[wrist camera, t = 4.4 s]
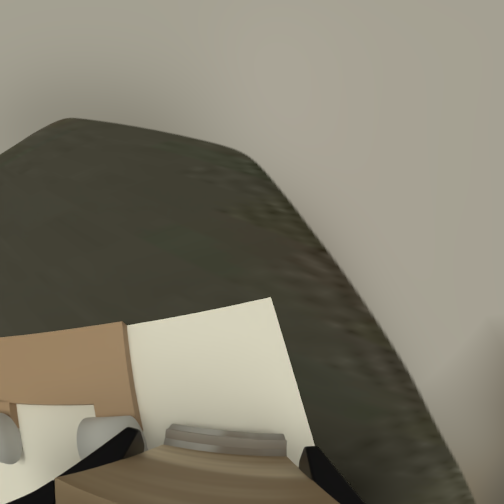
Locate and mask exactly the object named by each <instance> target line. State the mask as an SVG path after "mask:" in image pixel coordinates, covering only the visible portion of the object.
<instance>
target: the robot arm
mask: <svg viewBox="0 0 504 504" xmlns="http://www.w3.org/2000/svg"><path fill="white" fill-rule="evenodd" d="M143 452H144V441H143V438H142V434H141V431H140V430H139V429H137V428H133V427H126V428H125V429H123V430H122V431H121V432H120V433H118V434H117V435H116V436H114V437H113V438H111V439H110V440H109V441H107V442H106V443H105V444H103V445H102V446H101V447H99V448H98V449H96V450H95V451H94V452H92V453H91V454H90V455H88V456H87V457H85V458H84V459H82V460H81V461H80V462H78V463H77V464H75V465H74V466H72V467H71V468H69V469H68V470H67V471H65V472H64V473H62V474H61V475H59V476H58V477H60V476H65V475H69V474H73V473H77V472H81V471H85V470H89V469H92V468H96V467H99V466H103V465H106V464H109V463H113V462H116V461H119V460H122V459H126V458H129V457H132V456H135V455H138V454H140V453H143ZM299 469H300V470H301V471H302V472H303V473H304V474H305V475H306V476H307V477H309V478H310V479H311V480H312V481H314V482H315V483H316V484H317V485H318V486H319V487H321V488H322V489H323V490H324V491H325V492H326V493H328V494H329V495H330V496H331V497H332V498H334V499H335V500H336V501H337V502H338V503H340V504H365V502H364V501H363V500H362V499H361V498H360V497H359V496H358V494H357V493H356V492H355V491H354V490H353V489H352V487H351V486H350V485H349V484H348V483H347V482H346V480H345V479H344V478H343V477H342V476H341V474H340V473H339V472H338V471H337V469H336V468H335V467H334V466H333V465H332V463H331V462H330V461H329V460H328V458H327V457H326V456H325V455H324V453H323V452H322V451H321V450H320V448H319V447H317V446H306V447H304V449H303V452H302V454H301V457H300V460H299ZM6 504H56V499H55V479H54V480H51V481H50V482H48V483H47V484H45V485H44V486H42V487H40V488H39V489H37V490H35V491H33V492H31V493H29V494H27V495H25V496H23V497H20V498H18V499H16V500H13V501H11V502H8V503H6Z"/></svg>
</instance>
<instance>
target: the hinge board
mask: <svg viewBox="0 0 504 504" xmlns="http://www.w3.org/2000/svg"><path fill="white" fill-rule="evenodd" d="M171 424H180V425H186V426H192V427H199V428H207V429H215V430H225V431H236V432H250V433H274V434H284V436H285V440H287V449H286V450H287V457H288V458H289V459H290V460H291V461H292V462H293V463H294V464H295V465H296V466H297V467H298V468H299V460H300V457H301V454H302V452H303V449H304V447H306V446H315V445H314V441H313V438H312V435H311V431H310V428H309V424H308V421H307V417H306V414H305V411H304V407H303V404H302V400H301V397H300V394H299V390H298V387H297V383H296V380H295V377H294V373H293V370H292V367H291V363H290V360H289V356H288V353H287V350H286V346H285V343H284V340H283V336H282V333H281V330H280V326H279V323H278V320H277V316H276V313H275V309H274V306H273V303H272V299H271V297H269V298H265V299H261V300H256V301H252V302H247V303H242V304H238V305H233V306H228V307H224V308H219V309H214V310H209V311H204V312H199V313H194V314H189V315H183V316H178V317H173V318H167V319H162V320H156V321H150V322H145V323H139V324H133V325H126V324H125V323H123V322H122V321H121V322H115V323H108V324H102V325H95V326H89V327H82V328H75V329H68V330H61V331H53V332H45V333H37V334H29V335H20V336H11V337H1V338H0V504H6V503H8V502H11V501H13V500H16V499H18V498H20V497H23V496H25V495H27V494H29V493H31V492H33V491H35V490H37V489H39V488H40V487H42V486H44V485H45V484H47V483H48V482H50V481H51V480H54V479H55V477H58V476H59V475H61V474H62V473H64V472H65V471H67V470H68V469H69V468H71V467H72V466H74V465H75V464H77V463H78V462H80V461H81V460H82V459H84V458H85V457H87V456H88V455H90V454H91V453H92V452H94V451H95V450H96V449H98V448H99V447H101V446H102V445H103V444H105V443H106V442H107V441H109V440H110V439H111V438H113V437H114V436H116V435H117V434H118V433H120V432H121V431H122V430H123V429H125V428H126V427H133V428H137V429H139V430H140V431H141V434H142V438H143V441H144V452H145V451H147V450H150V449H153V448H155V447H158V446H160V445H163V444H164V440H165V433H166V429H168V428H169V427H170V425H171Z"/></svg>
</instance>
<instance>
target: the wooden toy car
mask: <svg viewBox="0 0 504 504" xmlns="http://www.w3.org/2000/svg"><path fill="white" fill-rule="evenodd" d="M286 449H287V440H285V436H284V434H274V433H250V432H236V431H225V430H215V429H207V428H199V427H192V426H186V425H180V424H171V425H170V427H169V428H168V429H166V433H165V440H164V444H163V445H160V446H158V447H155V448H153V449H150V450H147V451H145V452H143V453H140V454H138V455H135V456H132V457H129V458H126V459H122V460H119V461H116V462H113V463H109V464H106V465H103V466H99V467H96V468H92V469H89V470H85V471H81V472H77V473H73V474H69V475H65V476H60V477H55V499H56V504H340V503H338V502H337V501H336V500H335V499H334V498H332V497H331V496H330V495H329V494H328V493H326V492H325V491H324V490H323V489H322V488H321V487H319V486H318V485H317V484H316V483H315V482H314V481H312V480H311V479H310V478H309V477H307V476H306V475H305V474H304V473H303V472H302V471H301V470H300V469H299V468H298V467H297V466H296V465H295V464H294V463H293V462H292V461H291V460H290V459H289V458H288V457H287V450H286Z"/></svg>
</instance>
